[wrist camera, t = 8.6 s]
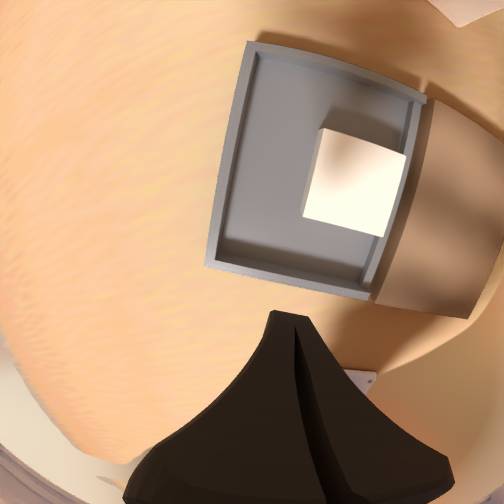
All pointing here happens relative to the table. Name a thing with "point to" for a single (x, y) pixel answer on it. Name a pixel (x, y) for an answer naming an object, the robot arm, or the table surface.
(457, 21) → the medicine bottle
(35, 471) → the robot arm
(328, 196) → the tile
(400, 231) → the board
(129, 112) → the table surface
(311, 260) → the tray
